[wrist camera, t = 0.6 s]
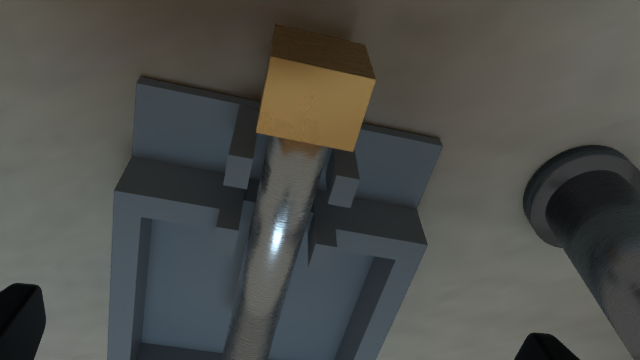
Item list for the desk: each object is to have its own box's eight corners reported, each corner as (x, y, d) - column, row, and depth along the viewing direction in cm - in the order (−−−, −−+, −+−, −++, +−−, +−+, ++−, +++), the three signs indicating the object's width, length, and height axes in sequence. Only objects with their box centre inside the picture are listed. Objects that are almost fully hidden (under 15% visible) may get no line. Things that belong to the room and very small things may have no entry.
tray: (439, 139, 22) (466, 197, 18) (343, 372, 30) (349, 444, 26) (140, 76, 20) (105, 128, 16) (123, 343, 28) (97, 416, 24)
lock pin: (365, 44, 17) (375, 80, 15) (279, 335, 25) (276, 391, 22) (275, 24, 17) (270, 56, 14) (215, 327, 24) (205, 383, 22)
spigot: (655, 157, 23) (806, 292, 16) (598, 242, 25) (706, 390, 18) (554, 135, 22) (666, 267, 15) (505, 225, 24) (583, 373, 18)
